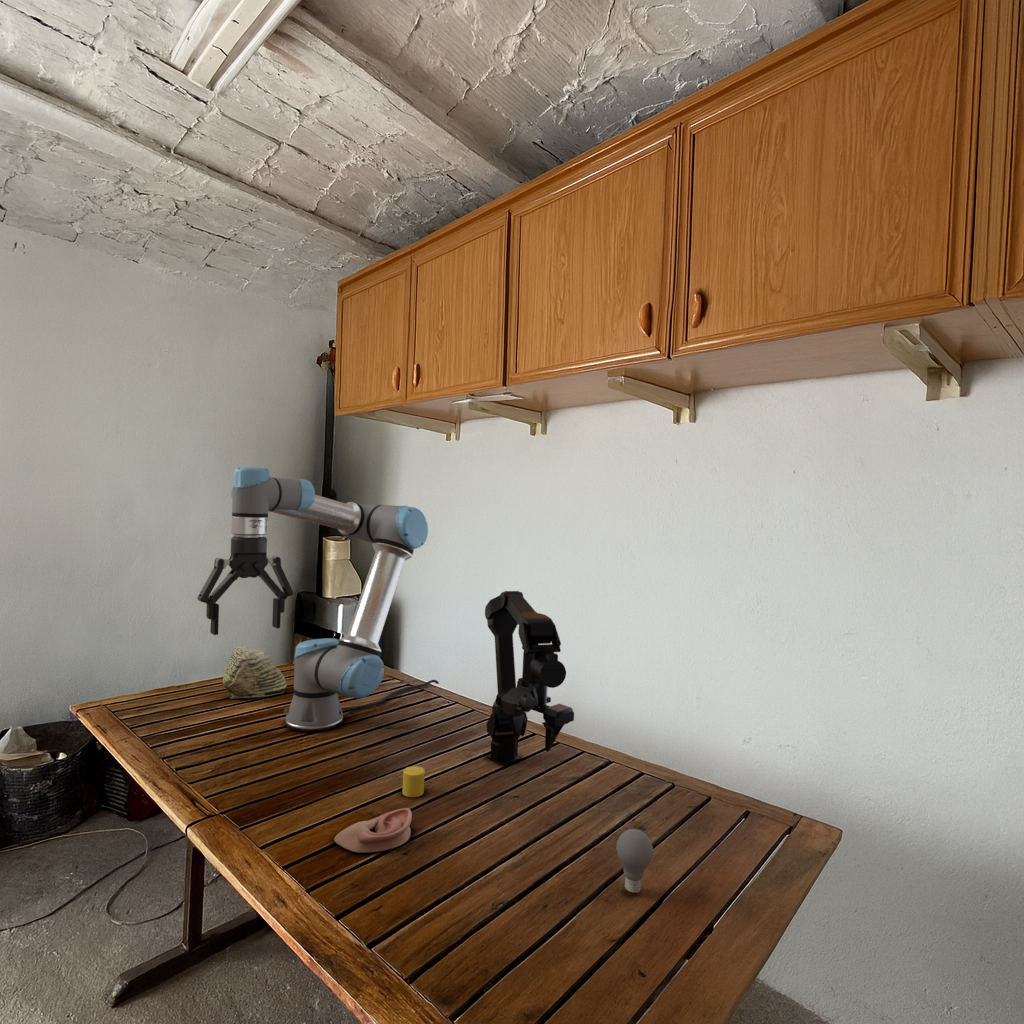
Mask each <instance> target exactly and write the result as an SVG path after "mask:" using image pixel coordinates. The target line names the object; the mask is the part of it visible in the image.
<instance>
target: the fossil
mask: <svg viewBox="0 0 1024 1024" xmlns="http://www.w3.org/2000/svg"><path fill="white" fill-rule="evenodd" d="M222 676H223V677H222V685H223V687H224V688H225V690H226V691H228V693H229V698H230V699H250V698H264V697H271V696H275V695H281V694H284V693H285V691H286V689H287V687H288V686H287V680H286V678H285V676H284V674H283V673H282V672H281V669H279V668H278V667H277V665H276V663H275V662H274V660H273V659H272V658H271V657H270V656H269V655H268V654H267V653H266V652H265V650H264V649H263V648H260V647H258V648H251V647H247V646H246V647H245V646H238V647H237V648H236V649H235V650H233V651H232V653H231V656H230V657H229V659H228V660H227V663H226V666H225V668H224V671H223V675H222Z"/></svg>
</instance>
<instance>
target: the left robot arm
mask: <svg viewBox="0 0 1024 1024" xmlns="http://www.w3.org/2000/svg"><path fill="white" fill-rule="evenodd" d="M315 492H316V491H315V487H314V485H313V483H312V482H311V481H310V480H308V479H303V478H299V477H295V478H292V477H272V476H271V474H270V470H269V468H267V467H259V466H237V467H236V468H235V469H234V470H233V476H232V485H231V488H230V497H231V504H232V505H231V524H230V526H231V528H230V529H231V530H230V533H231V535H233V536H232V537H230V556H229V559H226V558H220V557H216V558H215V559H214V563H213V568H212V570H211V572H210V574H209V576H208V577H207V579H206V581H205V582H204V585H203V586H202V588H201V590H200V591H199V594H198V595H197V597H196V599H197V601H199V602H201V603H205V604H206V613H205V616H206V619H208V620H210V629H209V630H210V631H209V632H210V634H212V635H213V636H218V635H219V621H220V620H219V618H220V604H218V603H217V602H218V601H219V600H220V598H221V597H222V596H223V595H224V594H225V593H226V592H227V590H228V589H229V588H230V587H231V586H232V585H233V584H234V582H235V581H237V580H238V579H239V578H241V579H247V578H252V579H254V578H258V577H259V578H260V579H261V580H262V582H263V583H264V584H265V585H266V586H267V588H268V589H270V590H271V592H272V593H273V594H274V596H275V598H273V599H272V622H271V624H272V625H271V627H273V628H275V629H281V614H282V613H285V605H286V600H287V599H288V597H292V596H293V595H294V590H293V588H292V586H291V584H290V582H289V580H288V578H287V575H286V573H285V571H284V570H283V569H284V568H283V567H282V559H281V557H279V556H277V555H272V556H271V557H268V556H267V552H268V538H267V537H266V536H267V535H268V526H269V512H271V513H273V514H278V515H281V516H286V517H288V518H289V517H290V518H294V519H297V520H302V521H305V522H309V523H313V524H315V525H316V524H317V525H320V526H325V527H328V528H333V529H337V530H338V532H340V534H342V535H345V536H349V537H352V538H356V539H359V540H361V541H364V542H367V543H371V545H372V548H373V550H374V556H373V558H372V561H371V563H370V568H369V570H368V573H367V575H366V579H365V581H364V585H363V588H362V591H361V593H360V595H359V599H358V602H357V605H356V608H355V611H354V614H353V617H352V620H351V623H350V626H349V629H348V632H347V634H346V635H345V636H342V637H341V638H339V639H338V638H335V637H334V638H331V637H329V638H315V639H308V640H304V641H301V642H299V643H298V644H297V645H296V646H295V652H294V656H293V659H294V661H293V662H294V670H293V671H294V672H293V695H292V696H293V697H292V699H291V702H290V704H289V706H288V707H285V708H283V714H284V715H285V714H286V715H285V726H286V728H287V729H289V730H291V731H294V732H295V731H296V732H301V733H316V732H325V731H329V730H332V729H335V728H337V727H339V726H340V725H342V723H343V722H344V714H343V711H344V712H345V711H353V710H359V709H366V708H370V707H374V706H377V705H379V704H382V703H384V702H385V701H387V700H388V699H390V698H391V697H393V696H395V695H397V694H400V693H401V692H405V691H409V690H413V689H418V688H423V687H426V686H428V685H430V684H432V683H435V684H437V685H439V684H440V682H439V681H438V680H436V679H431V680H428V681H426V682H424V683H421V684H416V685H411V686H406V687H403V688H400V689H397V690H394V691H393V692H391V693H389V694H387V695H386V696H384V697H383V698H381V699H380V700H378V701H374V702H371V703H367V704H361V705H354V706H344V707H342V706H341V702H340V699H339V695H342V696H343V697H347V698H354V699H365V698H367V697H369V696H370V695H371V694H373V693H374V692H375V691H377V689H378V688H379V686H380V685H381V683H382V681H383V678H384V674H385V668H384V662H383V660H382V659H381V654H382V649H381V647H380V644H379V642H380V639H381V636H382V633H383V630H384V626H385V623H386V621H387V617H388V615H389V611H390V608H391V605H392V603H393V602H392V601H393V599H394V596H395V594H396V593H395V592H396V590H397V586H398V583H399V580H400V578H401V574H402V571H403V568H404V565H405V562H406V561H408V560H410V559H412V557H413V556H414V555H413V554H414V552H415V549H420V548H421V547H422V546H424V545H425V543H426V542H427V539H428V534H429V526H428V522H427V518H426V516H425V514H424V513H423V511H421V510H420V509H419V508H417V507H414V506H408V505H391V504H390V505H389V504H388V505H387V504H366V503H365V504H364V503H358V502H354V501H348V502H342V501H338V500H335V499H331V498H328V497H325V496H321V495H318V494H316V493H315ZM268 565H269V566H270V567H272V568H271V569H272V570H273V573H274V575H275V576H276V579H277V580H278V584H279V585H280V587H279V585H278V584H277V583H276V582H275V581H274V580H273V578H272V577H271V576H270V574H269V573H268V572H267V571H266V570H265V569H266V567H267V566H268ZM227 566H229V568H230V569H231V570H230V571H229V572H228V573H226V576H225V577H224V579H222V581H221V582H220V583H219V584H218V585H217V587H215V586H216V584H217V582H218V581H219V578H220V577H221V575H222V574H223V573H222V572H223V570H224V569H226V568H227ZM338 694H339V695H338Z"/></svg>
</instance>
